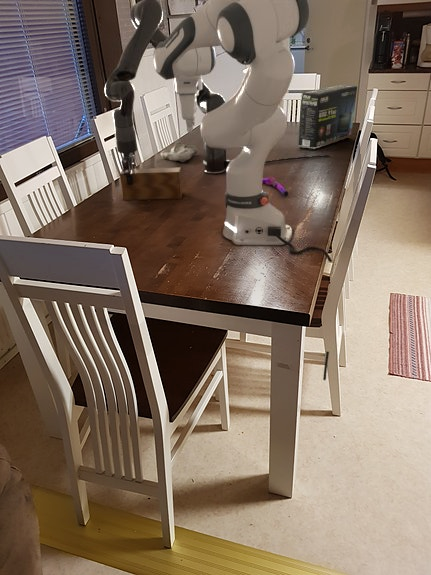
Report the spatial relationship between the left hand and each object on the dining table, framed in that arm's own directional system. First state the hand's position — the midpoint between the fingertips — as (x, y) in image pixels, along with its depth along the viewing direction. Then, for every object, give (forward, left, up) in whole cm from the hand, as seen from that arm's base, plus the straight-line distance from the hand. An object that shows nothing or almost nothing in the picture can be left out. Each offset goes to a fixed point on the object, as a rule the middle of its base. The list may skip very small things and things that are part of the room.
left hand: (131, 182), depth 180 cm
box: (-6, +6, -6) cm, 10 cm away
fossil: (-48, -30, -6) cm, 57 cm away
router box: (-117, +10, -6) cm, 118 cm away
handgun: (-44, +35, -6) cm, 56 cm away
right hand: (-9, +28, +22) cm, 37 cm away
